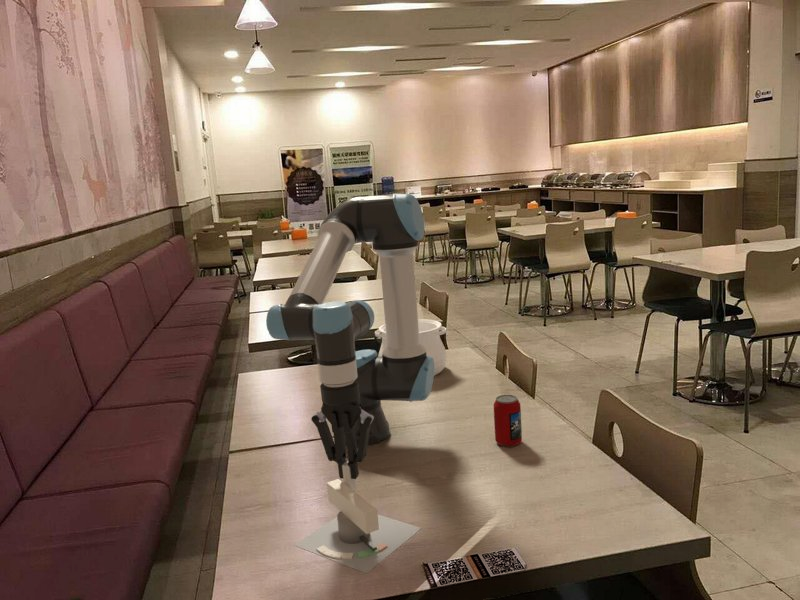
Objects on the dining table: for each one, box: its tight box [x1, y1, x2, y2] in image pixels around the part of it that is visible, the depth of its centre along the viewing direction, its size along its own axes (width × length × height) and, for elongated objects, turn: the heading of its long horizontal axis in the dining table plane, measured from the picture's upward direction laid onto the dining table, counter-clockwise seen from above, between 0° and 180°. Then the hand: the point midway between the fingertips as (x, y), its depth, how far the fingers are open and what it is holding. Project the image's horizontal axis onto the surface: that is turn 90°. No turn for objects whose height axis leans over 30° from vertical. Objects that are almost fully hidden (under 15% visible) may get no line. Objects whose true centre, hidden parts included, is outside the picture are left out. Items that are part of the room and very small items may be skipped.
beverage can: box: [493, 394, 523, 448], centre depth 166 cm, size 7×7×12 cm
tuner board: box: [293, 514, 422, 574], centre depth 127 cm, size 18×17×2 cm
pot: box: [374, 318, 447, 377], centre depth 233 cm, size 26×24×17 cm
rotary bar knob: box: [326, 478, 379, 551], centre depth 126 cm, size 6×16×8 cm, turn 32°
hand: (350, 492), depth 133 cm, fingers closed
